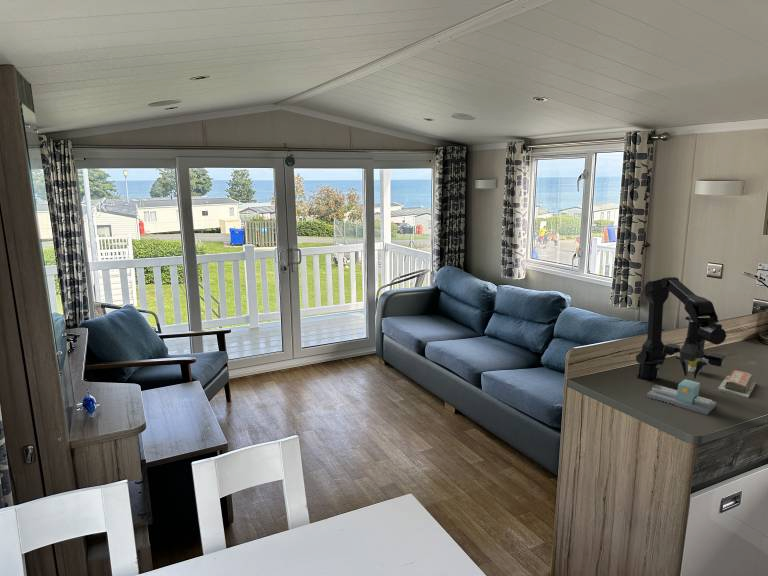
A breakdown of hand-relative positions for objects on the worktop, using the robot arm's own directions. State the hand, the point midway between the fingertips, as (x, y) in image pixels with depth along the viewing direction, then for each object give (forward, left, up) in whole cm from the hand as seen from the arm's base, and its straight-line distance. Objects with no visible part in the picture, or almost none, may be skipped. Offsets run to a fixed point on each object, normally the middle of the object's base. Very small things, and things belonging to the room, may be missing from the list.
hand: (690, 377), depth 191 cm
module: (0, 0, -8) cm, 9 cm away
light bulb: (-9, +36, -10) cm, 38 cm away
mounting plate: (-2, 0, -10) cm, 10 cm away
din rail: (-2, 0, -9) cm, 9 cm away
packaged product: (+9, +31, -11) cm, 33 cm away
